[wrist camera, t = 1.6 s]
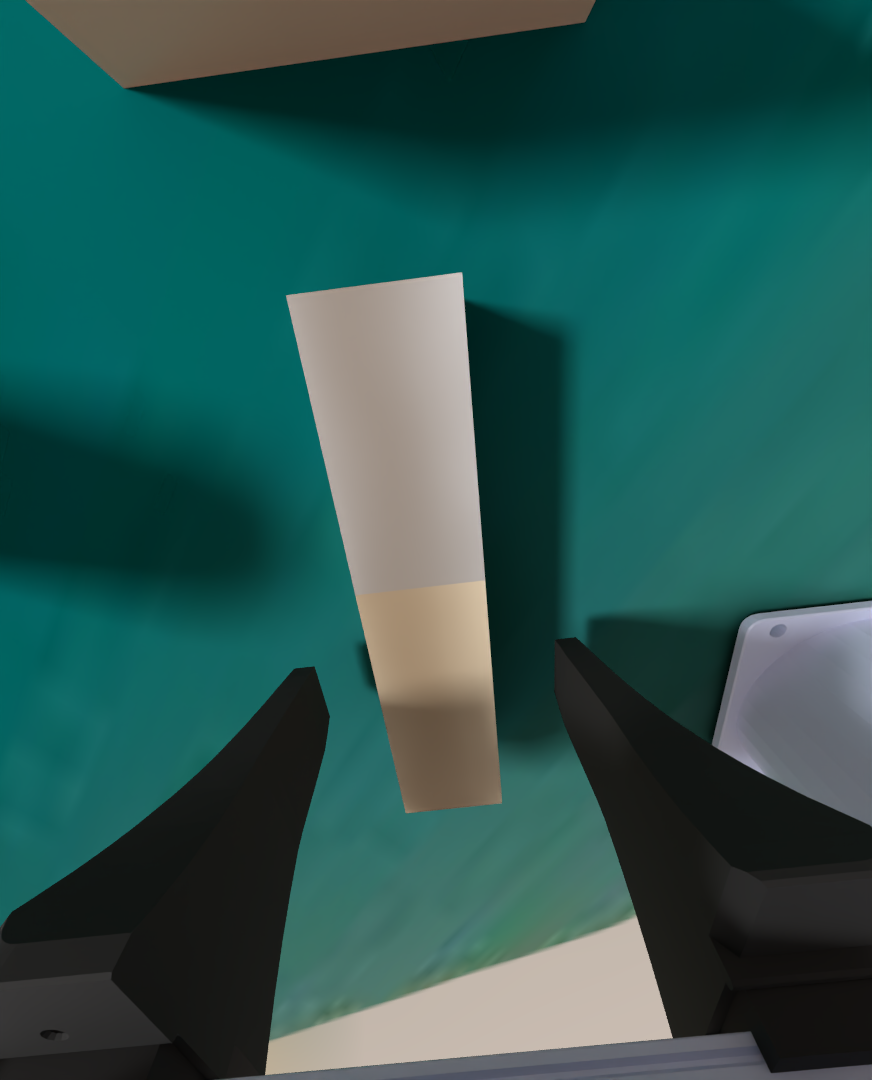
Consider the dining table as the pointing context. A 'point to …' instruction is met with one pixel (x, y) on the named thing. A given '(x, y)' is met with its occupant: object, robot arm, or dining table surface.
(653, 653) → the dining table surface
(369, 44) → the tile
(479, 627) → the grey and tan bar
